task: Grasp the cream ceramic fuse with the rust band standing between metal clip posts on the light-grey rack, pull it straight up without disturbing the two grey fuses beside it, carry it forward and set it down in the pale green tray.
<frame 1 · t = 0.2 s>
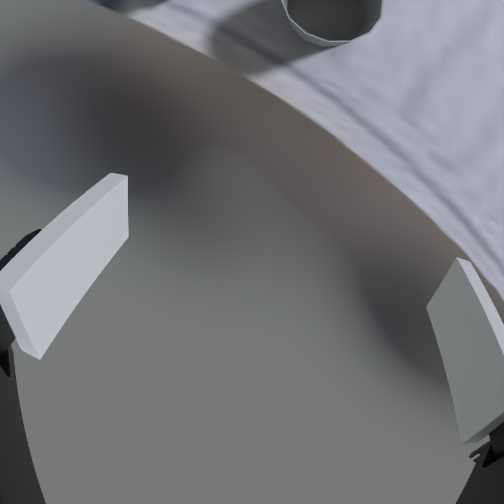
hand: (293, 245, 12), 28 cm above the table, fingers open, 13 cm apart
cup: (324, 12, 27), on the table
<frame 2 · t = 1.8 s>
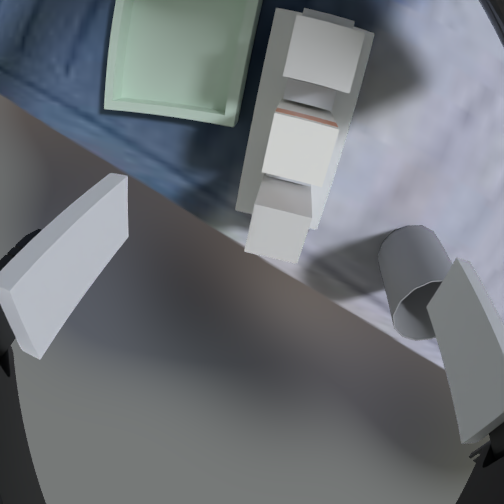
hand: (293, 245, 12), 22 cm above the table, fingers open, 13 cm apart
cup: (409, 254, 36), on the table
rack: (300, 121, 30), on the table
tray: (181, 46, 27), on the table
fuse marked: (300, 124, 29), point 1 cm above the table, touching rack
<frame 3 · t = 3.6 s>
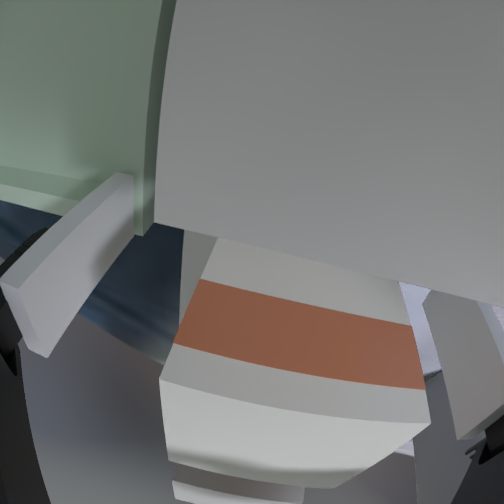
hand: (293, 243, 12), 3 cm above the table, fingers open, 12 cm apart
cup: (455, 389, 21), on the table
rack: (297, 209, 14), on the table
tray: (49, 58, 11), on the table
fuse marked: (296, 226, 13), point 1 cm above the table, touching rack
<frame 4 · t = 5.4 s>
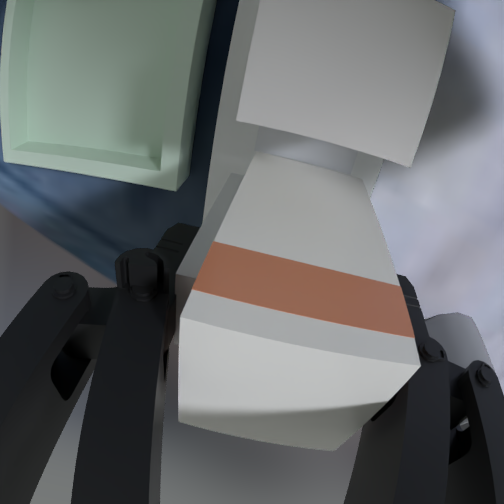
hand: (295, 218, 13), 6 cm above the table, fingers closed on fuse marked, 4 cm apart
cup: (436, 344, 25), on the table
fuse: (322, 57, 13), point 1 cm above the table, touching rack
rack: (291, 173, 19), on the table
tray: (98, 57, 16), on the table
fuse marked: (296, 211, 14), point 6 cm above the table, touching gripper
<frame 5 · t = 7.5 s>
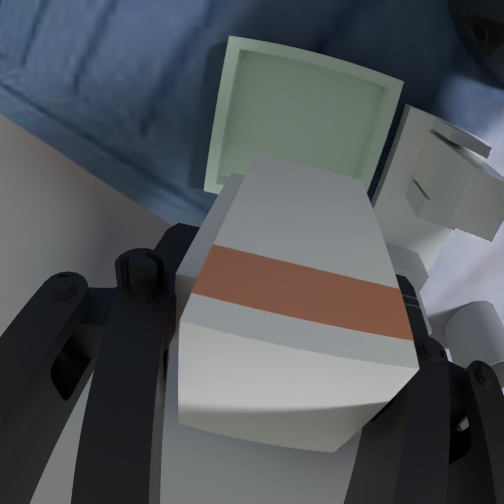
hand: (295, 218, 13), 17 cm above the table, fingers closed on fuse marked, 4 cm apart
cup: (470, 322, 37), on the table
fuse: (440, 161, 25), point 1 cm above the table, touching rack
rack: (408, 218, 30), on the table
tray: (299, 128, 27), on the table
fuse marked: (296, 213, 14), point 16 cm above the table, touching gripper
when the fingers open (3 cm above the table, at t = 10.1 s): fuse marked drops 2 cm, resting on tray.
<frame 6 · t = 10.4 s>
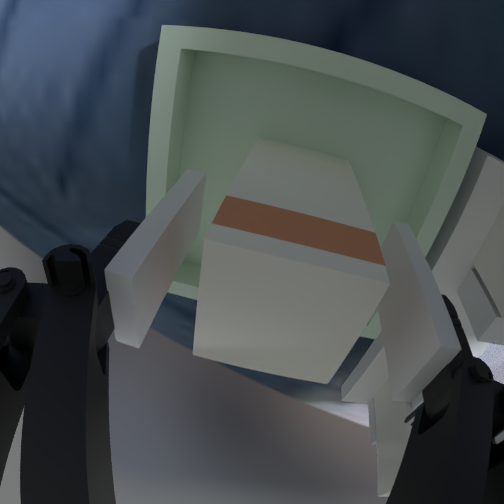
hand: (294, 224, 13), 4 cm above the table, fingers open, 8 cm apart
rack: (452, 310, 19), on the table
tray: (297, 186, 16), on the table
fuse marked: (293, 189, 16), point 1 cm above the table, touching tray
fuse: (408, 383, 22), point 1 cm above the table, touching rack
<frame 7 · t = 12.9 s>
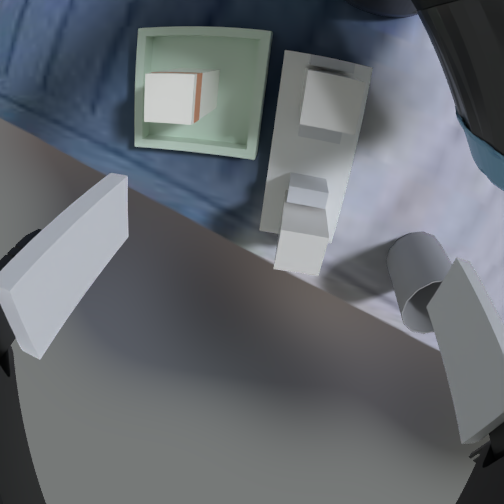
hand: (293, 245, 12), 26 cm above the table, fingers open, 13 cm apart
cup: (414, 257, 41), on the table
rack: (312, 149, 35), on the table
tray: (201, 87, 32), on the table
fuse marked: (198, 87, 32), point 1 cm above the table, touching tray
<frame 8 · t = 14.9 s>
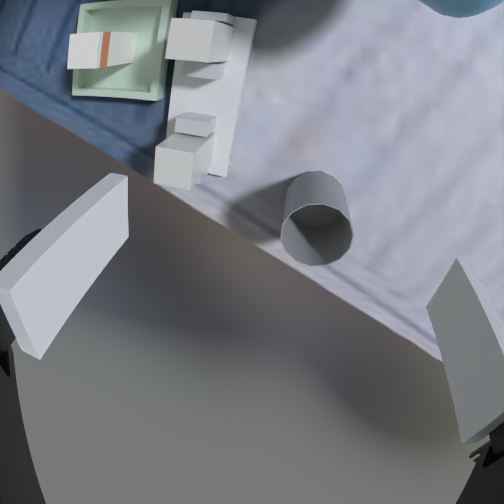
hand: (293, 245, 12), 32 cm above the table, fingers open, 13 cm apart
cup: (315, 198, 45), on the table
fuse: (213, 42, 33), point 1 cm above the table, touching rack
rack: (207, 93, 38), on the table
tray: (124, 47, 35), on the table
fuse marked: (121, 47, 35), point 1 cm above the table, touching tray
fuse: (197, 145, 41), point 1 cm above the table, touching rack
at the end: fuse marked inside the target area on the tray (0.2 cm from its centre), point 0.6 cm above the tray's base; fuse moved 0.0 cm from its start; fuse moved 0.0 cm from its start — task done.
